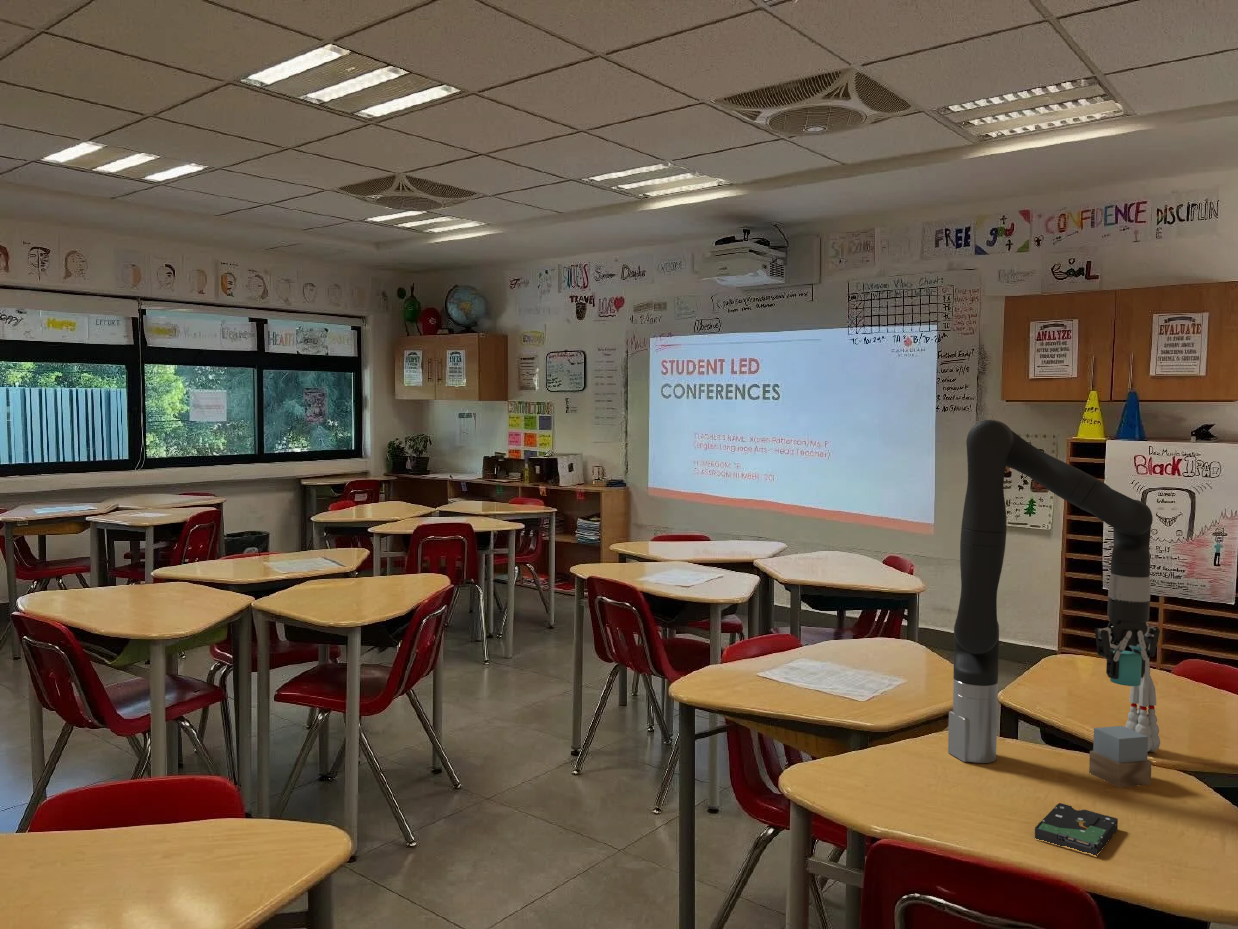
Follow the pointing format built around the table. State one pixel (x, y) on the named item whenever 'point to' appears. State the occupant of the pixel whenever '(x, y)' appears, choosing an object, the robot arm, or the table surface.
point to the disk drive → (1076, 828)
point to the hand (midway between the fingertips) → (1125, 677)
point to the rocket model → (1144, 709)
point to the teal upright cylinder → (1129, 669)
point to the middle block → (1120, 744)
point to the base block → (1120, 771)
